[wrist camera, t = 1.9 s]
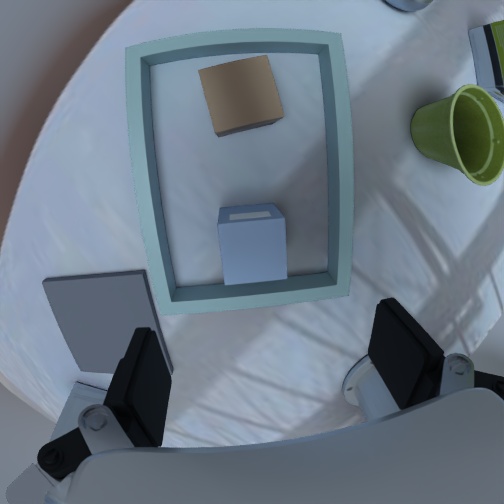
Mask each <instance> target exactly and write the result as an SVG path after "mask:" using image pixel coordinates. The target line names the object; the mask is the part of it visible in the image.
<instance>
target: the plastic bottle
mask: <svg viewBox="0 0 504 504" xmlns="http://www.w3.org/2000/svg"><path fill="white" fill-rule="evenodd" d="M385 1H386V2H388V3H389V4H390V5H392V6H394V7H396V8H398V9H401V10H405V11H417V10H420V9H423V8H425V7H426V6H427V5H429V4H430V3H431V2H432V1H433V0H385Z"/></svg>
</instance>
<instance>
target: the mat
mask: <svg viewBox="0 0 504 504" xmlns="http://www.w3.org/2000/svg"><path fill="white" fill-rule="evenodd" d="M42 284H43V287H44V290H45V293H46V295H47V298H48V301H49V303H50V306H51V308H52V311H53V313H54V316H55V318H56V321H57V323H58V325H59V328H60V330H61V332H62V334H63V336H64V339H65V341H66V343H67V345H68V347H69V349H70V351H71V353H72V355H73V357H74V359H75V361H76V363H77V365H78V367H79V368H80V370H81V371H84V372H96V373H111V374H114V373H115V370H116V368H117V365H118V363H119V361H120V359H122V358H124V356H125V353H126V351H127V348H128V346H129V343H130V341H131V338H132V336H133V334H134V331H135V329H136V328H137V327H150V328H151V330H155V332H156V334H157V337H158V340H159V343H160V346H161V349H162V352H163V355H164V358H165V361H166V364H167V367H168V369H169V372H170V375H172V374H173V367H172V364H171V361H170V358H169V355H168V352H167V349H166V345H165V342H164V339H163V336H162V332H161V329H160V326H159V322H158V319H157V315H156V312H155V308H154V304H153V300H152V297H151V293H150V289H149V285H148V281H147V277H146V272H145V270H140V271H129V272H118V273H106V274H95V275H83V276H71V277H59V278H47V279H45V280H44V281H43V282H42Z"/></svg>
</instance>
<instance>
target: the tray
mask: <svg viewBox="0 0 504 504" xmlns="http://www.w3.org/2000/svg"><path fill="white" fill-rule="evenodd" d="M268 52H281V53H309V54H319V62H320V70H321V79H322V89H323V100H324V111H325V125H326V140H327V160H328V194H329V242H328V272H326V273H318V274H310V275H301V276H292V277H287V279H282V280H273V281H263V282H254V283H244V284H234V285H225V283H224V284H214V285H202V286H191V287H179V288H176V284H175V279H174V274H173V269H172V264H171V258H170V253H169V247H168V242H167V236H166V230H165V224H164V218H163V211H162V204H161V197H160V190H159V182H158V174H157V166H156V156H155V147H154V136H153V124H152V110H151V93H150V66H152V65H156V64H161V63H166V62H172V61H178V60H184V59H190V58H198V57H206V56H215V55H225V54H239V53H268ZM125 82H126V107H127V123H128V136H129V146H130V156H131V165H132V173H133V181H134V188H135V195H136V201H137V208H138V214H139V220H140V225H141V231H142V236H143V241H144V246H145V251H146V256H147V261H148V265H149V270H150V274H151V278H152V283H153V287H154V291H155V295H156V299H157V303H158V306H159V310H160V314H161V315H175V314H190V313H203V312H215V311H227V310H238V309H248V308H257V307H267V306H275V305H284V304H292V303H300V302H308V301H315V300H322V299H329V298H336V297H343V296H349V290H350V279H351V265H352V249H353V225H354V159H353V136H352V120H351V107H350V96H349V86H348V78H347V69H346V62H345V55H344V48H343V42H342V36H341V33H333V32H325V31H315V30H302V29H279V28H256V29H233V30H220V31H210V32H201V33H194V34H187V35H180V36H175V37H169V38H164V39H159V40H154V41H150V42H146V43H141V44H137V45H134V46H130V47H126V48H125Z"/></svg>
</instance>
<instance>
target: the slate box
mask: <svg viewBox="0 0 504 504" xmlns="http://www.w3.org/2000/svg"><path fill="white" fill-rule="evenodd" d="M217 226H218V234H219V243H220V251H221V259H222V267H223V275H224V283H225V285H234V284H244V283H254V282H263V281H273V280H282V279H287V253H286V226H285V217H284V216H283V215H282V213H281V212H280V211H279V210H278V209H277V207H276V206H275V205H274V204H273V203H268V204H256V205H245V206H234V207H224V208H220V211H219V217H218V223H217Z"/></svg>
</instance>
